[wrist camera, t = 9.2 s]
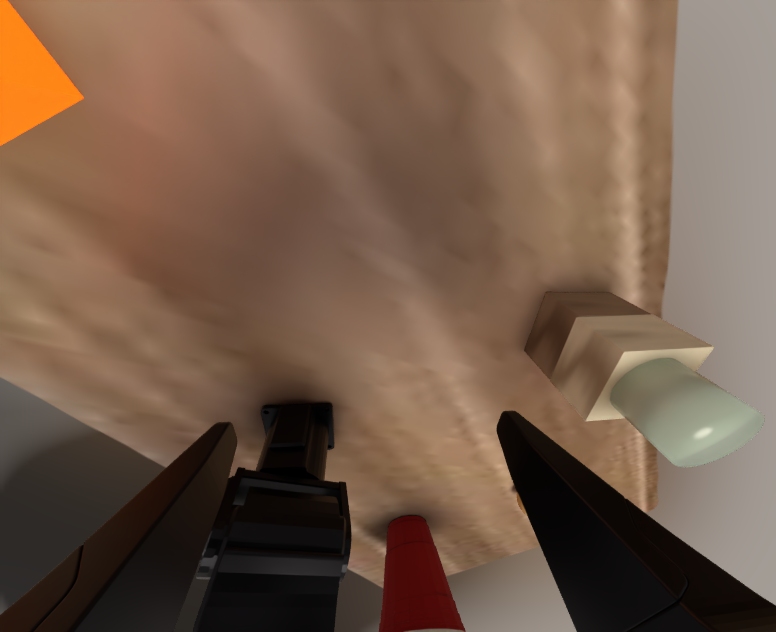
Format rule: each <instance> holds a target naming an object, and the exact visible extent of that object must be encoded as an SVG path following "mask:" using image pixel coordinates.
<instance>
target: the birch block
mask: <svg viewBox="0 0 776 632" xmlns="http://www.w3.org/2000/svg"><path fill="white" fill-rule="evenodd" d="M713 348H714V346H712V345H710V344H708V343H706V342H704V341H702V340H700V339H698V338H696V337H694V336H693V335H691V334H689V333H687V332H685V331H683V330H681V329H679V328H677V327H675V326H674V325H672V324H670V323H668V322H666V321H664V320H662V319H660V318H658V317H657V316H655V315H653V314H648V315H623V316H598V317H576V319H575V322H574V324H573V327H572V329H571V331H570V334H569V336H568V339H567V341H566V343H565V346H564V348H563V350H562V353H561V355H560V358H559V360H558V362H557V365H556V367H555V370H554V372H553V374H552V377H551V379H550V381H551V383H552V384H553V385H554V386H555V387H556V388H557V389H558V391H559V392H560V393H561V394H562V395H563V396H564V398H565V399H566V400H567V401H568V402H569V403H570V404H571V406H572V407H573V408H574V409H575V410H576V411H577V412H578V414H579V415H580V416H581V417H582V418H583V419H584V420H585V421H595V420H607V419H620V418H625V417H623V416H622V415H621V414H620V413H619V412H618V411H617V410H616V409H615V408H614V407H613V406H612V405H611V402H610V395H611V392H612V389H613V388H614V386H615V385H616V383H617V382H618V381H619V380H620V379H621V378H622V377H623V376H624V375H625V374H627V373H628V372H629V371H631V370H632V369H634V368H635V367H637V366H639V365H641V364H643V363H645V362H648V361H651V360H654V359H659V358H673V359H676V360H678V361H679V362H681V363H683V364H684V365H686V366H687V367H689V368H691V369H692V370H694V371H695V372H696V371H697V369H698V368H699V366H700V365H701V364H702V363H703V361H704V360H705V359H706V357H707V356H708V355H709V353H710V352H711V351H712V349H713Z"/></svg>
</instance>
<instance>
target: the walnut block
mask: <svg viewBox="0 0 776 632" xmlns="http://www.w3.org/2000/svg"><path fill="white" fill-rule="evenodd" d="M648 314H650V313H648V312H646V311H644V310H643V309H641V308H639V307H637V306H635V305H633V304H631V303H629V302H627V301H626V300H624V299H622V298H620V297H618V296H616V295H614V294H612V293H583V292H546V293H545V296H544V299H543V301H542V304H541V307H540V309H539V312H538V315H537V317H536V320H535V323H534V325H533V328H532V331H531V333H530V336H529V339H528V341H527V344H526V347H525V349H524V351H525V352H526V353H527V354H528V355H529V357H530V358H531V359H532V360H533V361H534V362H535V363H536V365H537V366H538V367H539V368H540V369H541V370H542V372H543V373H544V374H545V375H546V376H547V377H548V378H549V379H551V377H552V374H553V372H554V370H555V367H556V365H557V362H558V360H559V358H560V355H561V353H562V350H563V348H564V346H565V343H566V341H567V339H568V336H569V334H570V331H571V329H572V327H573V324H574V322H575V319H576V317H598V316H623V315H648Z"/></svg>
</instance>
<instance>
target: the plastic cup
mask: <svg viewBox="0 0 776 632" xmlns="http://www.w3.org/2000/svg"><path fill="white" fill-rule="evenodd" d="M379 632H465V628H464V626H463V624H462V622H461V618H460V615H459V613H458V611H457V608H456V604H455V601H454V600H453V597H452V594H451V591H450V588H449V585H448V582H447V579H446V576H445V573H444V570H443V567H442V564H441V561H440V558H439V555H438V552H437V549H436V546H435V545H434V542H433V539H432V536H431V533H430V530H429V527H428V525H427V523H426V520H425V519H424V518H422V517H419V516H404V517H400V518H398V519H395V520H394V521H392V522H391V523H390V524H389V526H388V532H387V550H386V556H385V572H384V589H383V605H382V611H381V622H380V626H379Z"/></svg>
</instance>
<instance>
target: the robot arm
mask: <svg viewBox="0 0 776 632" xmlns="http://www.w3.org/2000/svg"><path fill="white" fill-rule="evenodd" d="M326 408H328V409H326ZM266 410H267V411H266ZM261 416H262V420H263V424H264V428H265V433H266V439H265V442H264V446H263V449H262V452H261V455H260V458H259V461H258V464H257V467H256V471H253V470H246V469H245V468H241V467H238V469H237V471H236V474H235V476H232V477H231V478H228V477H229V474H230V470H231V466H232V462H233V458H234V455H235V451H236V447H237V437H236V434H235V431H234V427H233V425H232V423H231V422H219V423H216V424H214V425H213V426H212V427H211V428H210V429H209V430H208V431H207V432H205V433H204V434H203V435H202V436H201V437H200V438H199V439H198V440H197V441H195V442H194V443H193V444H192V445H191V446H190V447H189V448H188V449H187V450H186V451H184V452H183V453H182V454H181V455H180V456H179V457H178V458H177V459H176V460H174V461H173V462H172V463H171V464H170V465H169V466H168V467H167V468H166V469H164V470H163V471H162V472H161V473H160V474H159V475H158V476H157V477H156V478H155V479H153V480H152V481H151V482H150V483H149V484H148V485H147V486H146V487H145V488H144V489H142V490H141V491H140V492H139V493H138V494H137V495H136V496H135V497H133V498H132V499H131V500H130V501H129V502H128V503H127V504H126V505H125V506H124V507H122V508H121V509H120V510H119V511H118V512H117V513H116V514H115V515H114V516H113V517H111V518H110V519H109V520H108V521H107V522H106V523H105V524H104V525H102V526H101V527H100V528H99V529H98V530H97V531H96V532H95V533H94V534H93V535H91V536H90V537H89V538H88V539H87V540H86V541H85V542H84V544H83V545H81V546H79V547H78V548H77V549H76V550H75V551H73V552H72V553H71V554H70V555H69V556H68V557H67V558H66V559H65V560H63V561H62V562H61V563H60V564H59V565H58V566H57V567H56V568H54V569H53V570H52V571H51V572H50V573H49V574H48V575H46V576H45V577H44V578H43V579H42V580H41V581H40V582H39V583H37V584H36V585H35V586H34V587H33V588H32V589H31V590H29V591H28V592H27V593H26V594H25V595H24V596H22V597H21V598H20V599H19V600H18V601H16V602H15V603H14V604H13V605H12V606H10V607H9V608H8V609H7V610H6V611H4V612H3V613H2V614H1V615H0V632H173V631H174V628H175V625H176V623H177V620H178V617H179V615H180V612H181V609H182V606H183V604H184V601H185V599H186V596H187V593H188V590H189V588H190V585H191V582H192V580H193V577H194V575H195V572H196V569H197V566H198V564H199V563H201V566H200V568H199V571H198V574H197V579H210V581H209V583H208V586H207V589H206V592H205V595H204V598H203V601H202V604H201V607H200V609H199V612H198V615H197V618H196V621H195V624H194V628H193V632H334V627H335V614H336V605H337V595H338V588H339V583H340V582H341V581H342V580H343V578H344V575H345V573H346V570H347V566H348V562H349V557H350V549H351V522H350V513H349V505H348V496H347V488H346V482H339V483H338V482H331V481H324V479H325V468H326V458H327V450H330V449H333V448H334V425H333V406H332V405H331V404H329V403H316V404H286V405H265V406H263V407H262V409H261ZM497 434H498V438H499V441H500V444H501V447H502V450H503V453H504V457H505V460H506V463H507V466H508V469H509V472H510V475H511V478H512V480H513V483H514V485H515V488H516V490H517V492H518V495H519V497H520V499H521V502H522V504H523V506H524V509H525V511H526V513H527V516H528V518H529V520H530V523H531V525H532V527H533V530H534V532H535V535H536V537H537V539H538V542H539V544H540V546H541V549H542V551H543V553H544V556H545V558H546V560H547V562H548V565H549V567H550V570H551V572H552V574H553V577H554V579H555V581H556V584H557V586H558V588H559V591H560V593H561V596H562V598H563V600H564V603H565V605H566V607H567V609H568V612H569V614H570V617H571V619H572V621H573V624H574V626H575V628H576V631H577V632H776V605H774V604H773V603H771V602H769V601H768V600H766V599H764V598H763V597H761V596H760V595H758V594H757V593H755V592H754V591H752V590H751V589H749V588H748V587H747V586H745V585H744V584H743V583H741V582H740V581H738V580H737V579H736V578H734V577H733V576H731V575H730V574H728V573H727V572H726V571H724V570H723V569H721V568H720V567H719V566H717V565H716V564H714V563H713V562H712V561H710V560H709V559H707V558H706V557H704V556H703V555H702V554H700V553H699V552H697V551H696V550H695V549H693V548H692V547H690V546H689V545H688V544H686V543H685V542H683V541H682V540H681V539H679V538H678V537H676V536H675V535H674V534H672V533H671V532H670V531H668V530H667V529H666V528H664V527H663V526H662V525H660V524H659V523H658V522H656V521H655V520H654V519H652V518H651V517H650V516H648V515H647V514H646V513H645V512H643V511H642V510H641V509H639V508H638V507H637V506H636V505H634V504H633V503H632V502H630V501H629V500H628V499H625V498H624V496H623V495H621V494H620V493H619V492H618V491H616V490H615V489H614V488H613V487H611V486H610V485H609V484H608V483H606V482H605V481H604V480H602V479H601V478H600V477H599V476H597V475H596V474H595V473H594V472H592V471H591V470H590V469H588V468H587V467H586V466H585V465H583V464H582V463H581V462H580V461H578V460H577V459H576V458H574V457H573V456H572V455H571V454H569V453H568V452H567V451H566V450H564V449H563V448H562V447H561V446H559V445H558V444H557V443H555V442H554V441H553V440H552V439H550V438H549V437H548V436H547V435H545V434H544V433H543V432H541V431H540V430H539V429H538V428H536V427H535V426H534V425H533V424H531V423H530V422H529V421H528V420H526V419H525V418H524V417H522V416H521V415H520V414H519V413H517V412H516V411H503V412H502V414H501V416H500V419H499V422H498V424H497Z"/></svg>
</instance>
